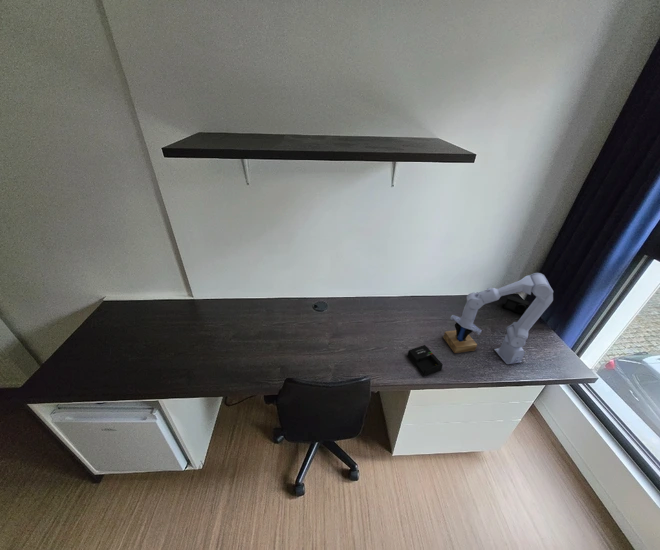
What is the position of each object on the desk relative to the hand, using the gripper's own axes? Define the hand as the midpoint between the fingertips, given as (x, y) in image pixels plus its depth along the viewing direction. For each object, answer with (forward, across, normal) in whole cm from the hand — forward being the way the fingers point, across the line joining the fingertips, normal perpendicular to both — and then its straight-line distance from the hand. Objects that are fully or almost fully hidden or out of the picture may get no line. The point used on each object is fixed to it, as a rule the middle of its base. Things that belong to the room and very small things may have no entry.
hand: (461, 337), depth 143 cm
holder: (+5, 0, 0) cm, 5 cm away
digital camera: (+5, -8, -50) cm, 51 cm away
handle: (+3, 0, 0) cm, 3 cm away
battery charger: (+5, +5, +24) cm, 25 cm away
